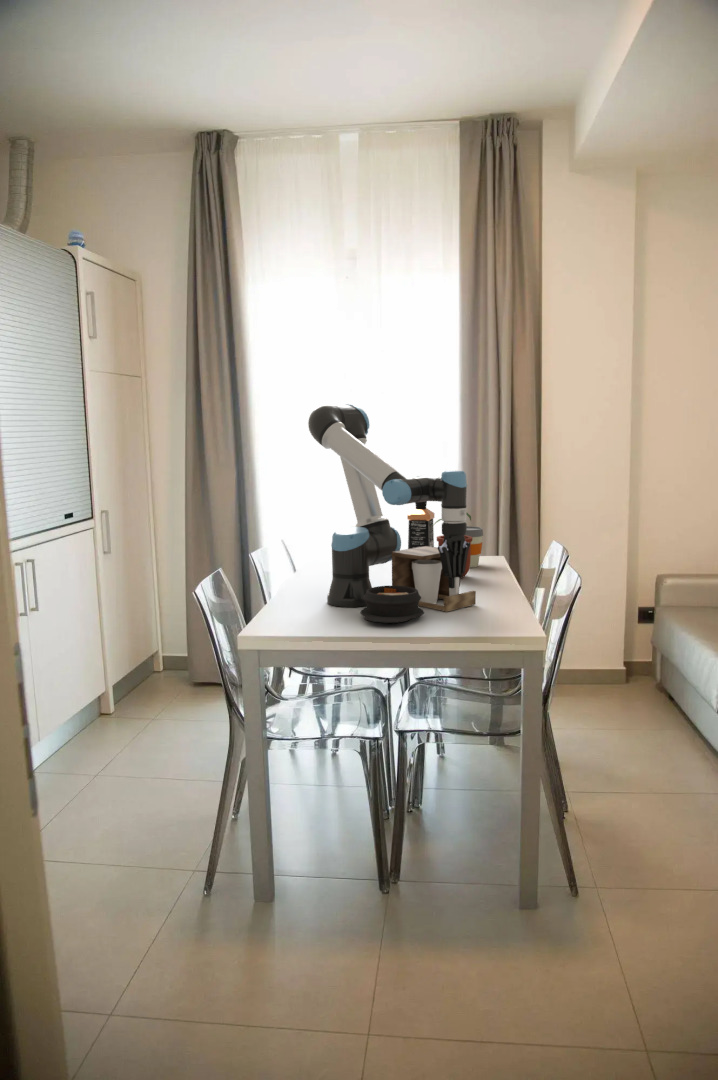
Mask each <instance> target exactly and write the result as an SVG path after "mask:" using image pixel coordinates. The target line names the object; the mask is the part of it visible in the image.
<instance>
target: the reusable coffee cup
mask: <svg viewBox="0 0 718 1080" xmlns="http://www.w3.org/2000/svg"><path fill="white" fill-rule="evenodd" d="M465 536H471V537H473V539H472V542H471V559H470V567H469V569H470V568H477V567H479V564H480V563H479V562H480V555H481V554H482V548H483V537H484V530H483V527H479V526H470V525H467V533H466V534H465Z"/></svg>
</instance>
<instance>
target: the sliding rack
mask: <svg viewBox="0 0 718 1080" xmlns="http://www.w3.org/2000/svg"><path fill="white" fill-rule="evenodd" d="M476 593H477V591H476V590H471V591H467V592H461V593H459V594H457V595H453V596H446V595H441V594H438V598H437V600H438V599H439V600H443V605H441V604H437V603H435V604H432V603H427V602H422V601H419V604H418V607H425V608H429V609H433V610H438V611H442V612H447V613H448V612H451V611H454V610H458V609H462V608H467V607H471V606H474V605H477V604H476V602H477V601H476V598H477V597H476Z"/></svg>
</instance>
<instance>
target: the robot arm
mask: <svg viewBox="0 0 718 1080" xmlns="http://www.w3.org/2000/svg"><path fill="white" fill-rule="evenodd" d="M307 425H308V431H309V432H310V434H311V437H313V439H314V440H315V441H316V442H317V443H319V445H320V446H322V447H323V448H324V449H328V450H330V449H331V450H332V451H333V452H334V453H336V454H337V455H338V456H339V458H340V461H341V465H342V469H343V471H344V473H343V474H344V476H345V481H346V484H347V488H348V491H349V495H350V499H351V503H352V506H353V510H354V514H355V518H356V525H355V526H350V527H345V528H341V529H338V530H336V531H335V532H333V534H332V538H331V559H332V561H331V564H332V569H331V570H332V572H331V573H332V577H331V578H332V580H331V584H330V588H329V590H328V591H329V593H328V594H327V597H326V600H327V604H328V605H329V606H334V607H340V608H341V607H342V608H358V607H359V608H360V607H366V602H365V600H364V599H363V597H364V596H365V594H366V591H367V590H368V589H370V588H373V587H372V582H371V579H370V567H372V566H375V565H377V566H378V565H381V564H383V565H384V564H386V563H389V562H392V552H393V551H399V550H401V547H402V539H401V534H400V533H399V531H398V530H397V529H395V527H393V526H391V524H390V520H389V518H387V517H386V516H385V515H384V514H383V511H382V508H381V505H380V501H379V497H378V494H377V490H376V487H377V488H378V490H380V491H381V493H382V497H383V499H384V502H386V503H387V504H389V505H391V506H404V505H408V504H415V503H416V502H423V501H427V502H441V504H442V507H441V519H442V520H441V521H442V523H441V534H442V536H443V535H444V540H443V545H442V546H438V545H437V548H438V551H439V553H440V557H441V563H442V569H443V575H444V576H446V577H448V578H449V596H453V595H457V594H460V586H461V578H460V577H463V575H462V574H464V573H465V568H466V562H467V555H468V550H469V547H470V543H468V542H466V541H465V537H464V535H465V534H466V533H467V526H468V525H467V522H465V521H467V515H466V512H467V490H468V489H467V488H468V484H467V474H466V472H465V471H464V470H443V471H442V472H441V476H423V475H420V476H419V475H417V476H411V477H410V478H408V477H405V476H404V475H402V474H401V473H400V472H399V471H397V470H396V469H395V468H394V467H392V465H390V464H389V463H387V461H385V460H384V459H383V458H382V457H380V456H379V455H378V454H377V453H375V452H374V451H373V450H371V449H370V447H368V446H367V445H366V444H367V441H368V438H367V435H368V434H369V429H370V420H369V416H368V415H367V413H366V411H364V409H363V408H361V407H360V406H358V405H353V404H349V403H348V404H347V403H346V404H330V403H329V404H328V403H327V404H326V403H325V404H322V405H319V406H317V407H316V408H314V410H313V411H312V412H311V413H310V415H309V418H308V422H307ZM461 569H462V570H461ZM463 578H464V577H463Z"/></svg>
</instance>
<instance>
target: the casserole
mask: <svg viewBox="0 0 718 1080" xmlns="http://www.w3.org/2000/svg"><path fill="white" fill-rule="evenodd" d="M363 599H364V600H365V602H366V606H365V608H362V609H361V610H360V614H361V616H363V618H364V620H365V621H368V622H373V623H380V624H381V623H383V624H392V623H393V624H398V623H405V622H408V621H411V620H413V619H416V618H419V617H421V616H422V615H424V614H425V611H424V610H423V609H422V607H421V608H420V606H418V604H419V601H420V599H421V596H420V595H419V593H418V590H417V589H415V588H411V587H406V586H392V585H380V586H373V587H372V588H370V589H368V590H367V591H366V594H365V596H364V597H363Z"/></svg>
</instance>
